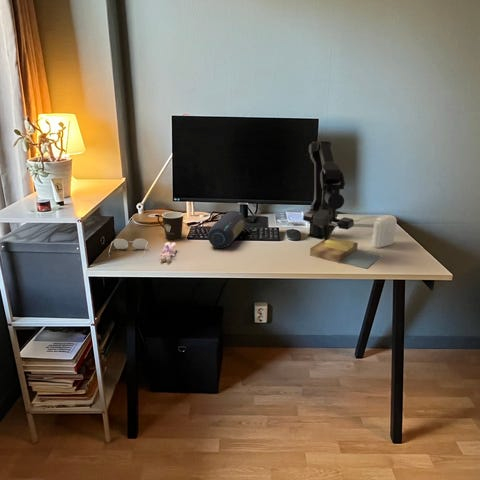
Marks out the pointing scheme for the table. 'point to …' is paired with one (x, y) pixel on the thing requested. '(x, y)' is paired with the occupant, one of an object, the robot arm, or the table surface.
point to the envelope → (360, 219)
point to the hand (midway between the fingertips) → (326, 240)
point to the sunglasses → (136, 243)
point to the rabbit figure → (167, 252)
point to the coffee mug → (172, 225)
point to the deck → (330, 252)
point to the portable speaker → (226, 229)
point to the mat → (361, 259)
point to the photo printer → (384, 231)
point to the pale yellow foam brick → (339, 244)
